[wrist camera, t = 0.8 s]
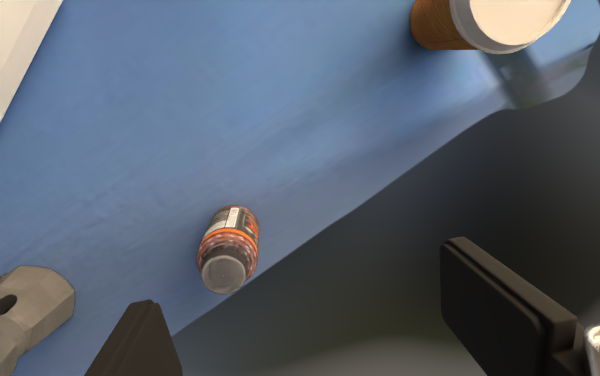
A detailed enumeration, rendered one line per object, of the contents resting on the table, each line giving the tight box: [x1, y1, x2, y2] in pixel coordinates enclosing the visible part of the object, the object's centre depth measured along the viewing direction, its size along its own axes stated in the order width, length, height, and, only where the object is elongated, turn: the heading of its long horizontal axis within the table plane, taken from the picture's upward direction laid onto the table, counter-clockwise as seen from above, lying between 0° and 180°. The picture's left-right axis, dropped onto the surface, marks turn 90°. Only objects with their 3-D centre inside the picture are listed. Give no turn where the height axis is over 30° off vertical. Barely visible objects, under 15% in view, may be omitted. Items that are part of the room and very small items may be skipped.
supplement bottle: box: [197, 206, 259, 294], centre depth 33 cm, size 6×6×11 cm
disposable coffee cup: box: [410, 0, 571, 54], centre depth 28 cm, size 10×10×12 cm
